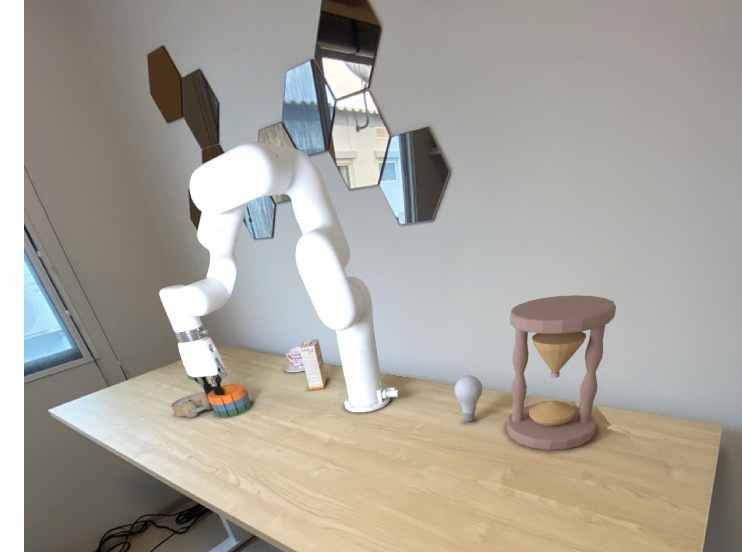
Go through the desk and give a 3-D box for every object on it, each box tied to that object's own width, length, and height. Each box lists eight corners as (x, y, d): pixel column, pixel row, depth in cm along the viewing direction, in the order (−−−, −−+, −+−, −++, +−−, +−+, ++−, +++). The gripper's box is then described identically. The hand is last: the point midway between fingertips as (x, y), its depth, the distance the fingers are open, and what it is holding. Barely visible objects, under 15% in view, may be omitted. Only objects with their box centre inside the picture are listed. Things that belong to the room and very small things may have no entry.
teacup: (322, 359, 151) (318, 343, 148) (311, 371, 142) (307, 354, 138) (292, 362, 154) (287, 345, 150) (280, 374, 144) (275, 356, 141)
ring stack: (257, 401, 126) (253, 388, 124) (240, 416, 118) (236, 403, 115) (227, 402, 129) (222, 390, 126) (209, 418, 120) (203, 405, 118)
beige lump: (198, 391, 132) (217, 390, 122) (205, 405, 135) (224, 406, 124) (164, 404, 126) (182, 405, 116) (172, 419, 128) (190, 421, 118)
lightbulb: (485, 416, 97) (485, 371, 90) (478, 428, 92) (478, 382, 86) (460, 414, 99) (458, 371, 93) (452, 426, 95) (450, 381, 89)
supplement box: (324, 388, 127) (314, 346, 119) (309, 390, 127) (298, 348, 120) (327, 378, 133) (318, 338, 126) (313, 380, 134) (303, 340, 127)
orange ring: (252, 388, 124) (250, 382, 123) (236, 403, 115) (233, 397, 114) (221, 390, 126) (218, 384, 125) (203, 405, 118) (200, 399, 117)
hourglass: (600, 415, 89) (621, 293, 75) (588, 456, 77) (610, 320, 63) (518, 408, 98) (523, 296, 84) (496, 444, 86) (498, 321, 72)
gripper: (224, 328, 113) (246, 391, 123) (175, 333, 116) (200, 393, 127) (209, 336, 107) (233, 401, 117) (158, 341, 110) (186, 404, 121)
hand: (216, 397), depth 122 cm, fingers closed on orange ring, 2 cm apart
